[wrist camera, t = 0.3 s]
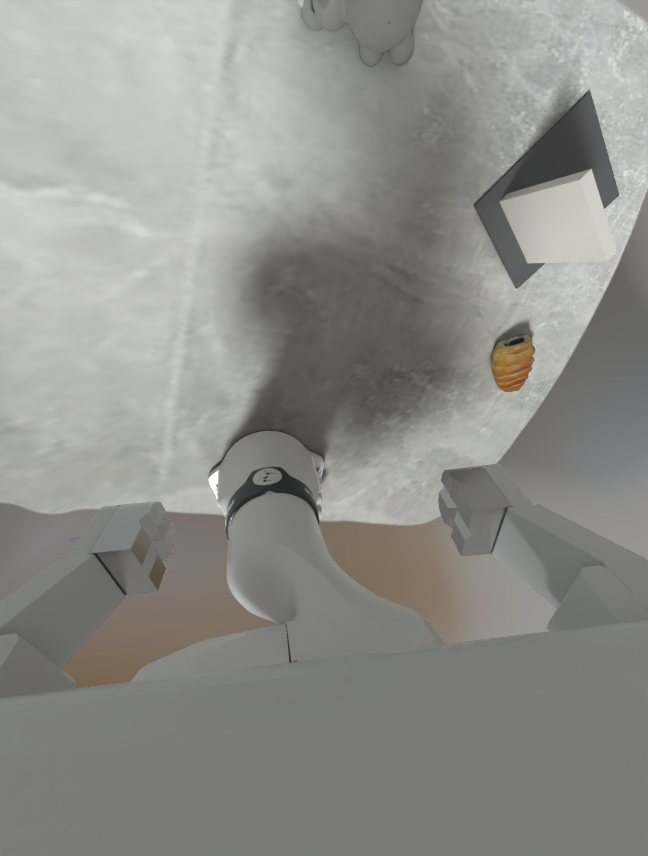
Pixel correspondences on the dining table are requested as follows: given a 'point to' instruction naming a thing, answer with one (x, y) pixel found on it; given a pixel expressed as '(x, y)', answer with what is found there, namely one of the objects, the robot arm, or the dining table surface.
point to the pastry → (512, 362)
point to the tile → (560, 221)
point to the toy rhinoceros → (368, 25)
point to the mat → (548, 179)
